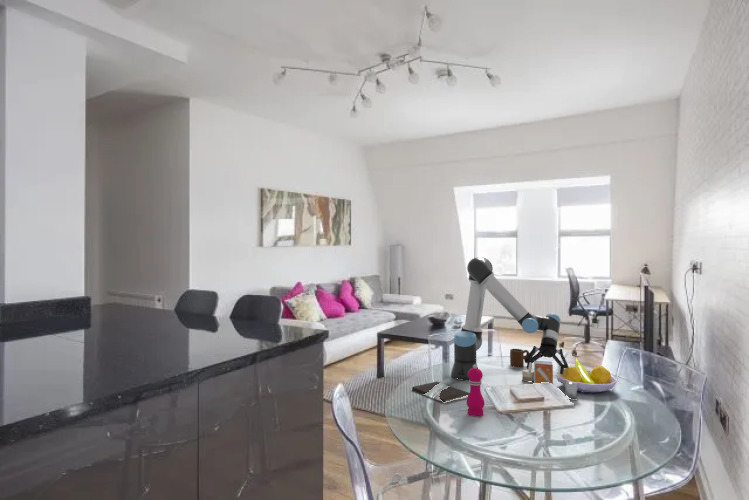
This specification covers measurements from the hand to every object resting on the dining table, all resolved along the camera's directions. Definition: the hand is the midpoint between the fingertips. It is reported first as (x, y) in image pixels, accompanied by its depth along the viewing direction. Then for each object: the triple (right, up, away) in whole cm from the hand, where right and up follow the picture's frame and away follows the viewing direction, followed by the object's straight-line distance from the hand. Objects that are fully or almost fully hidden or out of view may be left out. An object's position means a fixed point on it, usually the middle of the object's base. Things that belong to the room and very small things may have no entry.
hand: (543, 377), depth 200 cm
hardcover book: (-50, -7, -5) cm, 51 cm away
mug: (+5, -8, +47) cm, 48 cm away
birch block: (-1, -7, +17) cm, 18 cm away
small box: (+1, -7, +1) cm, 7 cm away
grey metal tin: (+8, -6, -12) cm, 16 cm away
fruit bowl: (+22, -7, +3) cm, 23 cm away
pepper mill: (-40, -6, -31) cm, 51 cm away
